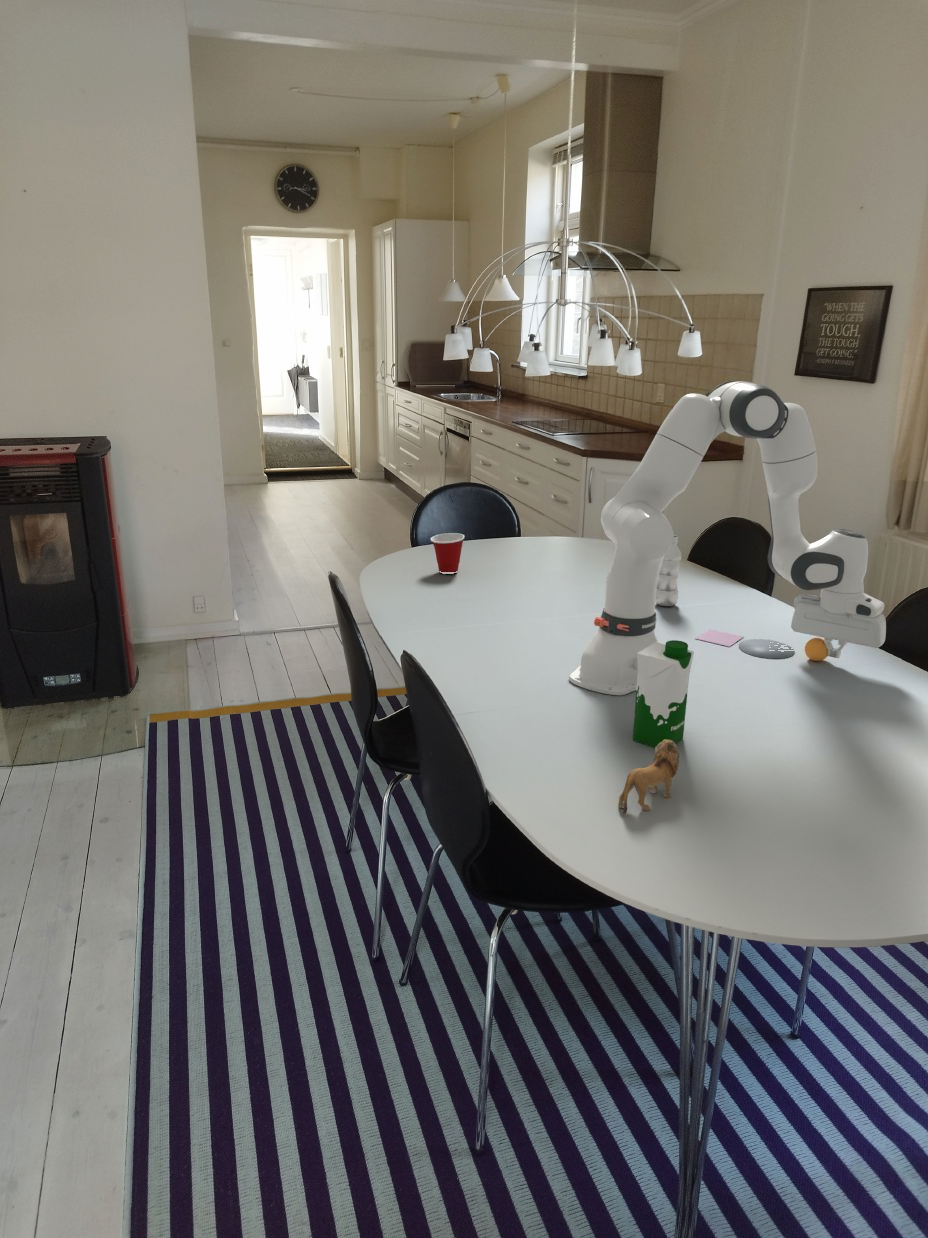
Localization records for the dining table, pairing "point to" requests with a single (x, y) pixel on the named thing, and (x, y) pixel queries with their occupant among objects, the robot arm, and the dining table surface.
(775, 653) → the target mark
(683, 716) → the milk carton
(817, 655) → the ball
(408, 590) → the dining table surface
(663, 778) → the lion figurine
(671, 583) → the plastic bottle
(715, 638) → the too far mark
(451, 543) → the plastic cup
